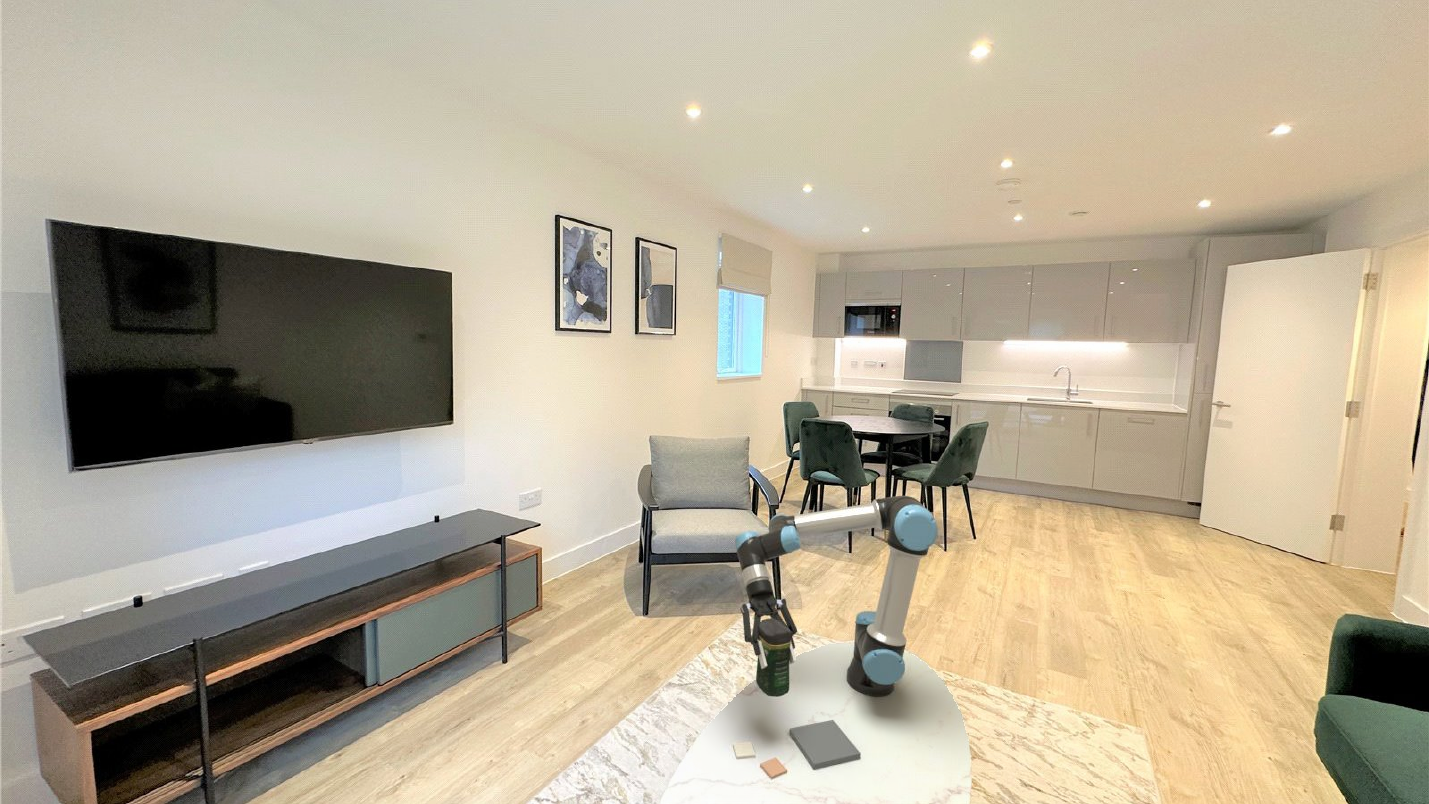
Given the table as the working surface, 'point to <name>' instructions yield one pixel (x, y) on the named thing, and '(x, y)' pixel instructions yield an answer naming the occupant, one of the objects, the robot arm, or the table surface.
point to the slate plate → (824, 744)
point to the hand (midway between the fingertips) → (779, 664)
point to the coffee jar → (774, 657)
